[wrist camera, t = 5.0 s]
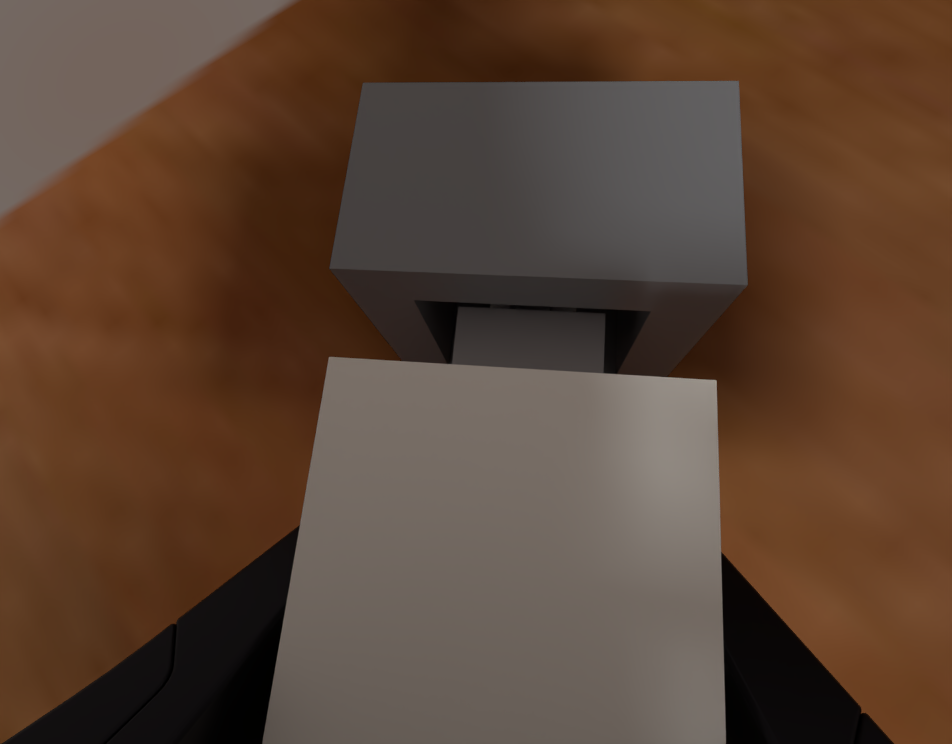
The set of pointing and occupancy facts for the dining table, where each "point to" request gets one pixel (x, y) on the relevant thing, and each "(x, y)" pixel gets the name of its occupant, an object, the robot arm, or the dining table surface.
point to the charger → (506, 549)
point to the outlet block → (546, 210)
